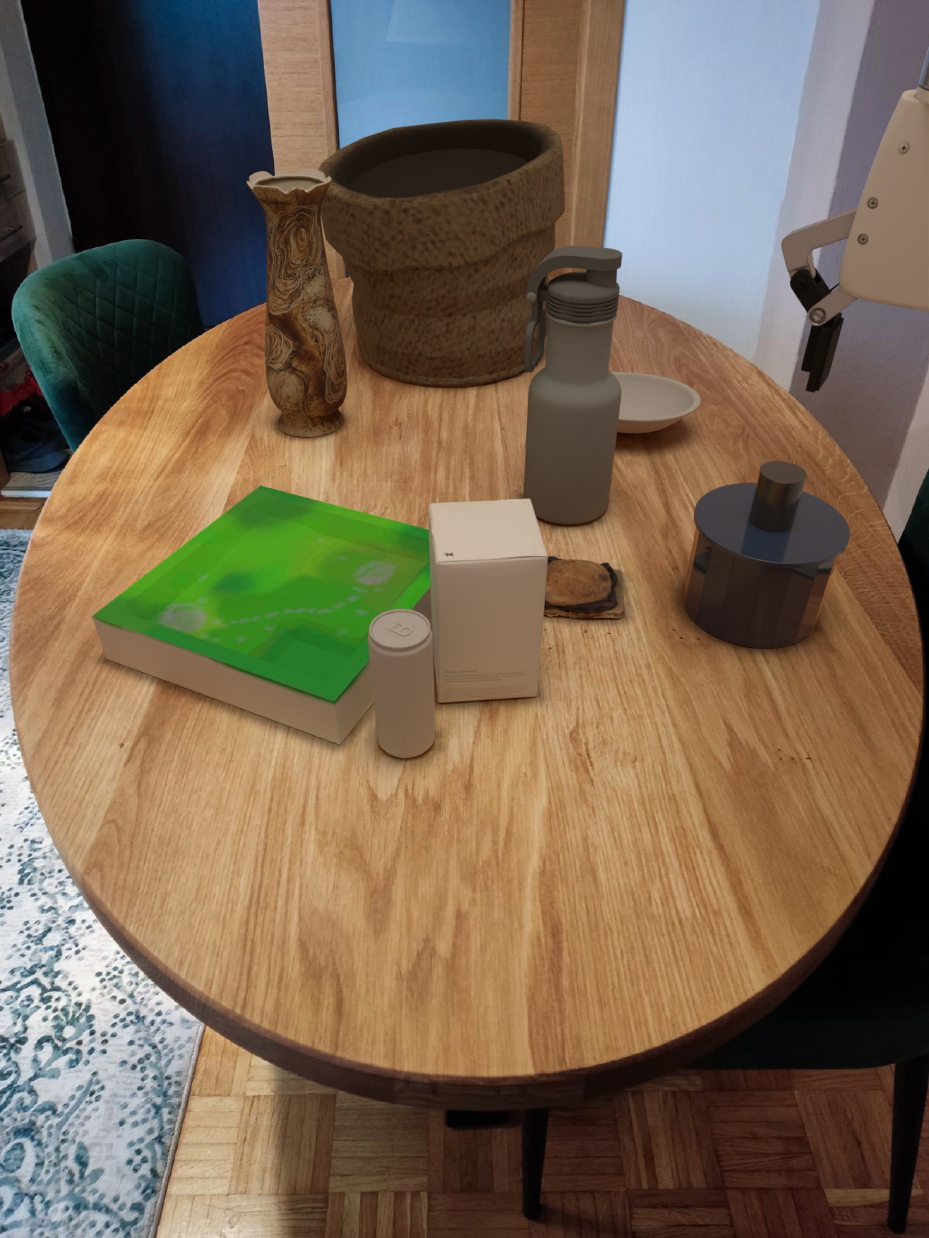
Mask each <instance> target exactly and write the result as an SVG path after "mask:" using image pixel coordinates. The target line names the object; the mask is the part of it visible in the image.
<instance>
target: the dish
mask: <svg viewBox="0 0 929 1238" xmlns="http://www.w3.org/2000/svg"><path fill="white" fill-rule="evenodd" d="M610 372H611V373H612V374H613V375H614V376H615V377H616V378H617V380H618V381H619V383H620V386H621V403H620V411H619V420H618V428H617V433H619V434H620V433H621V434H647V433H652V432H657V431H660V430H662V429H665V428H668V427H670V426H671V425H674V424H675V423H677V422H679V421H680V420H681V419H683V418H684V417H687V416H689V415H691V414H693V413H695V412H696V411H697V410H698V409H699V407H700V406H701V404H702V403H701V402H702V399H701V396H700V394H699V393H698V392H697V391H696V390H695V389H694V388H692V387H691V386H689V385H687V384H685V383H683V382H681V381H678V380H675V379H673V378H669V377H665V376H662V375H656V374H650V373H642V372H630V371H629V372H628V371H627V372H626V371H610Z"/></svg>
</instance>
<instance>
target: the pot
mask: <svg viewBox="0 0 929 1238" xmlns="http://www.w3.org/2000/svg"><path fill="white" fill-rule="evenodd" d="M564 165H565V164H564V148H563V141H562V137H561V135H560V134H559V133H557V132H556V130H554V129H553V128H551V127H550V126H549V125H548V124H547V123H542V122H535V121H527V120H522V119H521V120H520V119H503V118H502V119H501V118H500V119H499V118H479V119H477V118H476V119H457V120H450V121H440V122H431V123H422V124H414V125H405V126H397V127H392V128H389V129H385V130H383V131H379V132H376V133H374V134H370V135H366V136H364V137H361V138H359V139H358V140H355V141H353V142H352V143H349V144H347V145H345V146H343V147H341V148H338V149H337V150H336V151H335V152H333V153H332V154H331V155H330V156H329V157H327V158H326V159H325V160H323V161H322V162H321V163H320V165H319V168H318V169H317V170H319V171H321V172H323V173H324V174H325V176H326V178H327V177H329V176H330V177H331V181H332V182H331V184H330V186H329V188H328V191H327V193H326V195H325V197H324V199H323V202H322V204H321V225H322V230H323V233H324V234H323V235H324V239H325V240H326V242H327V243H328V244H329V245H330V246H331V247H332V248H333V249H334V250H335V252H337V253H338V254H339V255H340V256H341V257H342V261H343V264H344V267H345V269H346V272H347V274H348V276H349V278H350V280H351V281H352V284H353V287H352V294H351V305H352V317H353V324H354V327H355V330H356V334H357V335H358V336H357V337H358V340H359V343H360V344H359V350H360V353H361V355H362V357H363V359H364V362H365V363H366V364H367V365H368V366H369V367H371V368H372V369H373V370H374V371H376V372H378V374H381V376H386V377H388V378H391V379H394V380H397V381H399V382H403V383H406V384H414V385H420V386H426V387H441V388H442V387H447V388H449V387H451V388H463V387H471V386H478V385H486V384H492V383H495V382H499V381H502V380H505V379H509V378H512V377H515V376H518V375H519V374H521V373H523V372H525V368H524V363H525V340H526V331H527V326H528V324H529V322H530V321H531V308H532V303H529V302H528V301H527V300H526V289H527V283H528V281H529V278H530V276H531V274H532V273H533V272H534V270H535V269H536V267H537V266H538V265H539V264H540V263H541V261H542V260H543V259H544V258H545V257H546V256H547V255H548V254H549V253H551V252H552V251H554V250H555V248H556V222H557V221H558V220H559V219H560V218H561V217H562V216H563V214H564V213H565V211H566V198H565V197H566V196H565V195H566V194H565V170H564V169H565V168H564ZM549 281H550V279H549V274H547V276H546V280H545V285H546V286H548V283H549ZM543 310H547V308H546V302H544V301H543ZM547 328H548V317H547V316H546V330H545V338H547ZM538 333H539V323H538V324H537V326H536V327H535V330H534V335H533V346H532V358H533V357H534V355H535V354H536V350H537V346H538Z"/></svg>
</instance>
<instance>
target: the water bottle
mask: <svg viewBox="0 0 929 1238" xmlns="http://www.w3.org/2000/svg"><path fill="white" fill-rule="evenodd" d="M622 260H623V252H621V251H620V250H618V249H615V248H612V247H611V248H610V247H597V246H596V247H595V246H587V245H565V246H562V247H558V248H556V249H554V251H552V252H551V253H549V254H548V255H547V256H546V257H545V258H544V259H543V260H542V261H541V263H540V264H539V265H538V266H537V267H536V269H535V270H534V272H533V273H532V274H531V276H530V278H529V281H528V283H527V289H526V300H527V301H528V302H529V303H532V308H531V321H530V322H529V324H528V326H527V331H526V340H525V363H524V368H525V370H524V372H525V373H530V374H531V373H533V372H534V371H535V370H536V368H537V366H538V364H539V363H540V362H541V360H542V358H543V355H544V352H545V363H544V367H543V368H541V369H540V370H538V371H537V372H536V373H535V374H534V376H533V377H532V378H531V379H530V382H529V385H528V392H527V409H526V410H527V411H526V412H527V413H526V432H525V452H524V470H523V471H524V472H523V473H524V475H523V494H522V496H523V498H522V499H530V500H531V503H532V506H533V509H534V512H535V515H536V518H538V519H541V520H543V521H546V522H548V523H552V524H558V525H570V526H571V525H572V526H573V525H581V524H586V523H589V522H591V521H594V520H596V519H597V518H599V517H600V516H601V515H603V514H604V513H605V512H606V510H607V508H608V506H609V501H610V495H611V487H612V480H613V479H612V477H613V469H614V461H615V452H616V444H617V437H618V432H617V428H618V420H619V411H620V403H621V386H620V383H619V381H618V380H617V378H616V377H615V376H614V375H613V374H612V373H611V372H612V371H610V370H609V368H610V360H611V359H610V358H611V348H612V339H613V331H614V322H615V320H616V319H617V317H618V313H617V312H618V310H619V299H620V298H619V297H620V289H621V287H620V285H619V283H618V282H617V281H618V280H617V279H618V270H619V269H621V268H622ZM561 269H579V270H586V271H571V272H564V273H561V274H559V275H557V276H555V277H553V278H551V279H549V283H548V286H546V285H545V280H546V276H547V274H548V275H549V274H550V273H553V272H555V271H557V270H561ZM543 301H544V302H546V308H547V310H543ZM546 316H547V317H548V328H547V334H546V337H545V330H546ZM538 323H539V333H538V346H537V350H536V354H535V355H534V357H533V358H532V346H533V335H534V330H535V327H536V326H537V324H538ZM545 345H546V348H545Z"/></svg>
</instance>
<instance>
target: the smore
mask: <svg viewBox="0 0 929 1238" xmlns="http://www.w3.org/2000/svg"><path fill="white" fill-rule="evenodd" d="M547 556H548V563H547V577H546V590H545V603H544V616H547V617H549V618H552V617H558V616H559V615H560V616H561V617H569V618H570V619H571V618H572V619H586V618H587V619H588V618H590V619H591V618H592V619H599V618H600V619H604V618H605V619H609V618H611V619H620V620H621V619H622V618H623V617H624V616H625V614H626V612H625V603H624V599H625V596H624V588H623V587H624V586H623V573H622V571H621V570H620V569H617V568H613V567H612V566H611V565H610V563H609V562H601V563H597V562H595V561H592V560H587V559H586V560H585V559H574V558H573V559H572V558H567V559H564V558H558V557H557V556H554V555H547Z"/></svg>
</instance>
